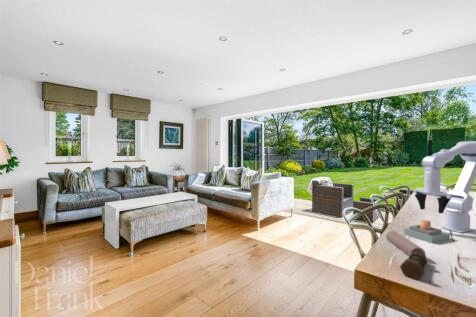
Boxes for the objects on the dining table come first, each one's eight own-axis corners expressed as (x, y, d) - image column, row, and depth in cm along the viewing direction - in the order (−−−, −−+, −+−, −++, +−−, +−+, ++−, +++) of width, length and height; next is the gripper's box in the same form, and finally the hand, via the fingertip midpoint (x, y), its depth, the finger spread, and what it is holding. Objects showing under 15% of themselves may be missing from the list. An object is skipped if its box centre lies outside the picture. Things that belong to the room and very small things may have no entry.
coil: (384, 230, 98) (411, 248, 81) (396, 229, 98) (425, 247, 80) (385, 241, 98) (412, 261, 81) (397, 240, 98) (427, 260, 80)
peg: (422, 235, 105) (423, 219, 104) (432, 237, 101) (432, 221, 101) (418, 236, 103) (418, 220, 103) (427, 239, 100) (427, 222, 100)
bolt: (422, 268, 79) (414, 284, 69) (407, 256, 82) (396, 270, 72) (434, 255, 77) (427, 270, 66) (417, 244, 80) (408, 256, 70)
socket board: (421, 230, 110) (421, 222, 110) (449, 239, 100) (449, 229, 100) (404, 234, 106) (404, 225, 106) (431, 243, 95) (432, 233, 95)
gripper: (410, 180, 113) (409, 208, 114) (445, 184, 100) (444, 215, 100) (419, 179, 116) (418, 206, 116) (455, 183, 102) (454, 214, 102)
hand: (431, 211), depth 108 cm, fingers open, 7 cm apart
